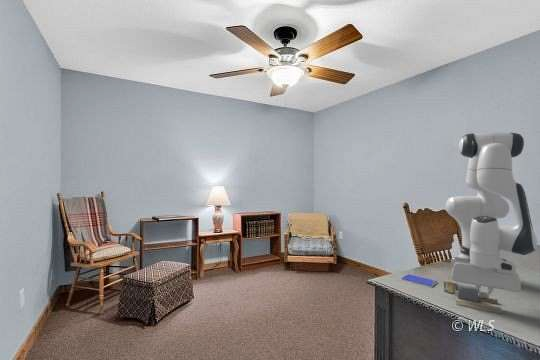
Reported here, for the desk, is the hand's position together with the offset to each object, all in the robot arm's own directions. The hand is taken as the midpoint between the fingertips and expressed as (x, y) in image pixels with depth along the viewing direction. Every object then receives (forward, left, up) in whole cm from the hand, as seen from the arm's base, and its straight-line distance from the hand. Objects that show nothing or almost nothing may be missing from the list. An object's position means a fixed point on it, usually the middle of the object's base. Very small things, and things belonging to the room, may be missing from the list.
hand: (483, 297), depth 103 cm
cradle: (-2, -4, -3) cm, 5 cm away
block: (0, -5, -3) cm, 5 cm away
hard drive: (-14, -23, -3) cm, 27 cm away
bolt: (-13, -11, -3) cm, 17 cm away
